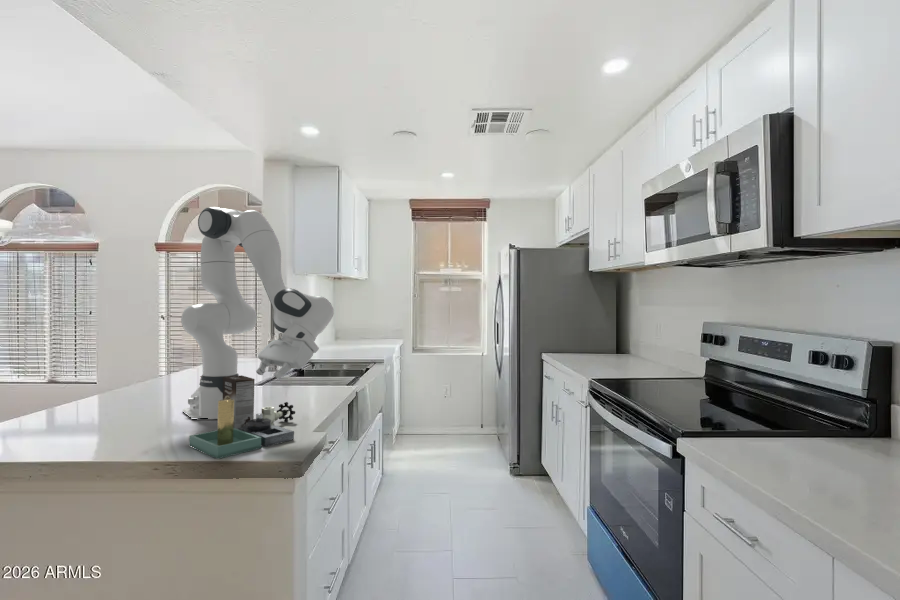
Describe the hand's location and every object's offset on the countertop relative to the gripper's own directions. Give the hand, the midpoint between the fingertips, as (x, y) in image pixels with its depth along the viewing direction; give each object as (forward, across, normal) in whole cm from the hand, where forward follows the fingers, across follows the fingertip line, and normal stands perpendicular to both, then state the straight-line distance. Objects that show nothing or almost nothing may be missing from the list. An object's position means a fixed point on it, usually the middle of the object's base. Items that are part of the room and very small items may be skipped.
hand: (267, 375), depth 144 cm
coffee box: (+13, -16, +13) cm, 24 cm away
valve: (+6, -11, +20) cm, 24 cm away
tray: (+22, 0, +4) cm, 22 cm away
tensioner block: (+13, 0, +13) cm, 18 cm away
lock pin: (+21, 0, +4) cm, 21 cm away
